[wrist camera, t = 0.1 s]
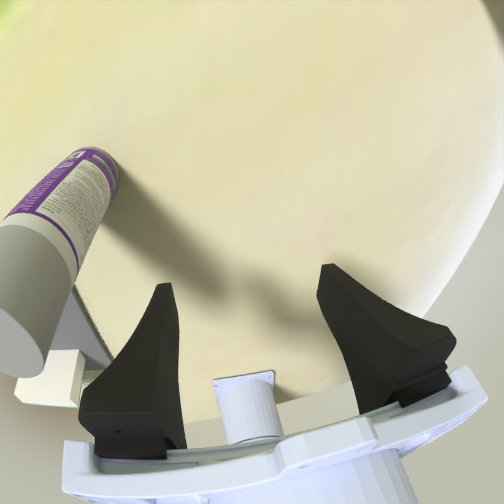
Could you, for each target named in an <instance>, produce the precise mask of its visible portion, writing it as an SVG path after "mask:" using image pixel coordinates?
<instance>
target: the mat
mask: <svg viewBox="0 0 504 504" xmlns="http://www.w3.org/2000/svg"><path fill="white" fill-rule="evenodd" d="M50 350H80V352H81V353H82V355H83V356H84V358H85V359H86V363H85V369H84V370H100V369H106V368H107V367H108V366H109V365H110V364H111V363H112V361H113V360H112V359H111V357H110V355H109V354H108V352H107V350H106V349H105V347H104V345H103V344H102V342H101V340H100V338H99V337H98V335H97V333H96V331H95V330H94V328H93V326H92V324H91V322H90V320H89V318H88V316H87V315H86V313H85V311H84V309H83V307H82V305H81V303H80V301H79V299H78V297H77V295H76V293H75V291H74V288H72V290H71V292H70V295H69V297H68V300H67V302H66V305H65V307H64V310H63V313H62V315H61V318H60V321H59V323H58V326H57V329H56V332H55V335H54V338H53V341H52V344H51V347H50Z"/></svg>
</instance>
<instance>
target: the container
mask: <svg viewBox="0 0 504 504" xmlns="http://www.w3.org/2000/svg"><path fill="white" fill-rule="evenodd" d="M118 183H119V172H118V168H117V166H116V164H115V162H114V160H113V159H112V158H111V156H110V155H109V154H107V153H106V152H105V151H103V150H101V149H99V148H95V147H84V148H81V149H78V150H76V151H75V152H73V153H72V154H70V155H69V156H68V157H67V158H66V159H65V160H63V161H62V162H61V163H60V164H59V165H58V166H57V167H55V168H54V169H53V170H52V171H51V172H50V173H49V174H48V175H47V176H45V177H44V178H43V179H42V180H41V181H40V182H39V183H38V184H37V185H36V186H35V187H34V188H33V189H32V190H31V191H30V192H29V193H28V194H27V195H26V196H25V197H24V198H23V199H22V200H21V201H20V202H19V203H18V204H17V205H16V206H15V207H14V208H13V209H12V210H11V212H10V213H9V214H8V215H7V216H6V217H5V218H4V219H3V220H2V222H1V223H0V372H1V373H3V374H6V375H9V376H13V377H18V378H32V377H35V376H37V375H39V374H40V373H41V372H42V371H43V369H44V366H45V363H46V360H47V356H48V353H49V350H50V347H51V344H52V341H53V338H54V335H55V332H56V329H57V326H58V323H59V321H60V318H61V315H62V313H63V310H64V307H65V305H66V302H67V300H68V297H69V295H70V292H71V290H72V288H73V285H74V283H75V281H76V278H77V276H78V273H79V270H80V268H81V266H82V263H83V261H84V258H85V256H86V254H87V251H88V249H89V247H90V244H91V242H92V240H93V238H94V235H95V233H96V231H97V229H98V227H99V225H100V222H101V220H102V218H103V216H104V214H105V212H106V210H107V208H108V206H109V204H110V202H111V200H112V198H113V196H114V194H115V192H116V190H117V187H118Z"/></svg>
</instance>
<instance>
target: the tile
mask: <svg viewBox="0 0 504 504" xmlns="http://www.w3.org/2000/svg"><path fill="white" fill-rule="evenodd" d="M85 363H86V359H85V358H84V356H83V355H82V353H81V352H80V350H49V353H48V356H47V360H46V363H45V366H44V369H43V371H42V372H41V373H40V374H39V375H37V376H35V377H32V378H18V381H17V385H16V389H15V392H14V394H15V396H16V397H17V398H18V399H20V400H21V401H22V402H23V403H25V404H34V405H43V406H55V407H72V408H79V401H80V393H81V387H82V380H83V374H84V369H85Z"/></svg>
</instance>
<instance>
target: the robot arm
mask: <svg viewBox="0 0 504 504" xmlns="http://www.w3.org/2000/svg"><path fill="white" fill-rule="evenodd" d="M316 296H317V299H318V302H319V305H320V308H321V311H322V313H323V316H324V318H325V320H326V322H327V324H328V326H329V328H330V330H331V332H332V333H333V335H334V337H335V339H336V341H337V343H338V345H339V347H340V350H341V352H342V354H343V357H344V360H345V363H346V366H347V369H348V372H349V375H350V378H351V381H352V385H353V388H354V392H355V396H356V400H357V404H358V408H359V413H360V415H359V416H356V417H353V418H349V419H346V420H343V421H340V422H336V423H333V424H329V425H326V426H322V427H318V428H314V429H310V430H306V431H302V432H298V433H294V434H289V435H285V436H284V433H283V430H282V426H281V423H280V419H279V415H278V412H277V408H276V405H275V401H274V397H273V386H274V372H273V371H267V372H262V373H256V374H250V375H244V376H238V377H231V378H224V379H217V380H213V381H212V385H213V389H214V393H215V396H216V400H217V403H218V407H219V410H220V412H221V416H222V421H223V427H224V434H225V439H226V445H225V446H216V447H207V448H195V449H187V444H186V439H185V433H184V426H183V419H182V411H181V403H180V394H179V383H178V359H179V319H178V311H177V307H176V303H175V298H174V294H173V289H172V285H171V283H162V284H158V285H157V286H156V288H155V291H154V293H153V296H152V298H151V300H150V302H149V305H148V307H147V309H146V311H145V313H144V315H143V317H142V319H141V320H140V322H139V324H138V326H137V327H136V329H135V331H134V333H133V334H132V336H131V337H130V339H129V340H128V342H127V343H126V345H125V346H124V348H123V349H122V350H121V351H120V353H119V354H118V355H117V357H116V358H115V359H114V360H113V361H112V363H111V364H110V365H109V366H108V367H107V368H106V369H105V370H104V371H103V372H102V373H101V374H100V375H99V376H98V377H97V378H96V379H95V380H94V381H93V382H92V383H91V384H89V385H88V386H87V387H86V388H85V389H84V390H83V393H82V397H81V401H80V407H79V415H78V420H79V422H80V423H81V425H82V426H83V427H85V429H86V430H87V431H88V432H90V433H91V434H92V435H93V436H94V437H95V444H93V443H90V442H86V441H75V440H65V441H64V453H63V468H62V491H63V492H65V493H67V494H70V495H72V496H75V497H77V498H80V499H82V500H85V501H88V502H90V503H97V504H419V503H418V501H417V498H416V496H415V493H414V491H413V488H412V486H411V484H410V481H409V479H408V476H407V474H406V472H405V469H404V467H403V465H402V463H401V460H400V459H401V458H402V457H404V456H406V455H408V454H410V453H412V452H414V451H416V450H418V449H419V448H421V447H423V446H425V445H427V444H428V443H430V442H432V441H433V440H435V439H437V438H438V437H440V436H442V435H443V434H445V433H447V432H448V431H450V430H452V429H453V428H455V427H456V426H458V425H460V424H461V423H463V422H464V421H465V420H467V418H469V417H470V416H471V415H472V414H473V413H474V412H475V411H476V410H478V409H479V408H480V407H481V406H482V405H483V404H484V403H485V402H486V401H487V400H488V397H487V395H486V393H485V392H484V390H483V388H482V387H481V385H480V384H479V382H478V381H477V379H476V377H475V376H474V374H473V373H472V371H471V370H470V368H469V367H468V365H467V364H465V365H463V366H461V367H459V368H457V369H455V370H453V371H451V372H450V373H449V374H447V372H446V369H447V365H446V363H445V361H446V359H447V358H448V357H449V355H450V354H451V352H452V351H453V349H454V348H455V345H456V338H455V336H454V335H453V334H452V332H451V331H450V330H449V328H448V327H447V326H443V325H440V324H436V323H433V322H429V321H427V320H424V319H421V318H419V317H416V316H414V315H411V314H409V313H407V312H405V311H403V310H401V309H399V308H397V307H395V306H393V305H392V304H390V303H388V302H386V301H385V300H383V299H381V298H380V297H378V296H377V295H375V294H374V293H372V292H371V291H369V290H368V289H367V288H365V287H364V286H363V285H361V284H360V283H358V282H357V281H356V280H355V279H353V278H352V277H351V276H349V275H348V274H347V273H346V272H344V271H343V270H342V269H340V268H339V267H338V266H336V265H335V264H333V263H332V264H324V265H322V268H321V273H320V279H319V284H318V290H317V295H316Z"/></svg>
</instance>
